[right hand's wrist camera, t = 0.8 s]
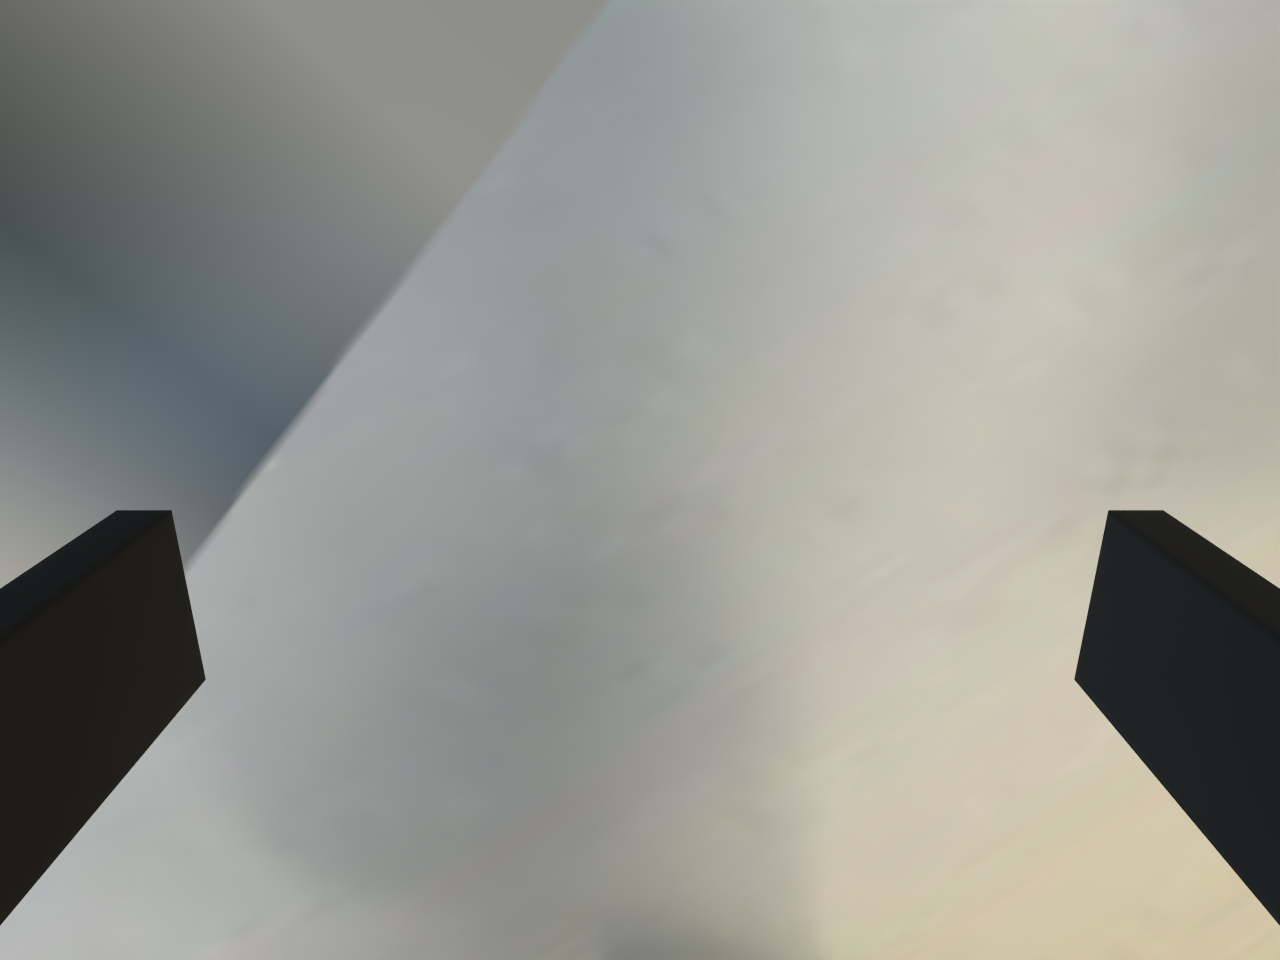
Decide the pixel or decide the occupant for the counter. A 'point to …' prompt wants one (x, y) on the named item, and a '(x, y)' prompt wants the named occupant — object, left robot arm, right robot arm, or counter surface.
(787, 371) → the counter surface
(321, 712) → the counter surface
